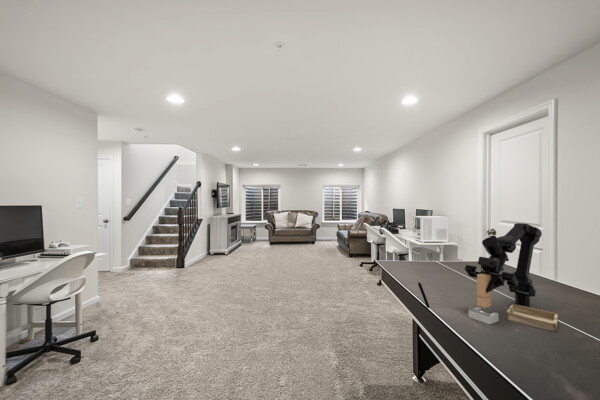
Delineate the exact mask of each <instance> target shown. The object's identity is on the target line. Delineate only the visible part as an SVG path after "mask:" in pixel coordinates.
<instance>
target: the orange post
mask: <svg viewBox="0 0 600 400" xmlns="http://www.w3.org/2000/svg"><path fill="white" fill-rule="evenodd" d="M490 281H491V275H488V274H484V273H482V274H477V278H476V295H477V296H476V297H477V298H476V299H477V300H476V302H477V303H476V305H477V306H476V307H480V308H483V309H486V308H489V307H492V291H490V292H488V293H486V289H487V286H488V285H489V283H490Z"/></svg>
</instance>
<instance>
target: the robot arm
mask: <svg viewBox="0 0 600 400" xmlns="http://www.w3.org/2000/svg"><path fill="white" fill-rule="evenodd" d="M541 237H542V230H541V229H540V228H539V227H536V226H533V225H530V224H529V223H524V222H523V223H522V222H520V223H519V222H517V223H514V225H513V227H512V228H511V229H510V230H509V231H508V232H507V233H506V234H505V235H501V236H498V237H497V236H496V235H490V236H489V237H486V238H484V239H482V241H481V243H482V246H483V248H484V249H485V251H486V252H487V254H488V255H490V256H489V257H486V256H478V261H477V265H480V268H481V269H480V268H478V267H477V265H472V264H471V265H470V264H466V265H465V267H464V272H466V274H467V275H468V276H469V277H470V278H474V279H475V278H476V279H477V274H482V273H484V274H488V275H491V281H490V283H489V285H488V286H487V289H486V293H488V292H490V291H491V292H492V291H493V290H495V289H496V288H500V287H504V286H505V282H506V284H507V286H508V288H509V289H508V290H509V292H510V293H514V303H513V304H515V305H520V306H525V307H529V308H533V305H532V304H531V298H532V297H536V295H537V290H536V289H535V286H534V285H533V280H532V278H531V276H530V270H531V263H532V257H533V253H534V248H535V245H537V244H538V243H539V242H540V239H541ZM518 241H520V247H519V253H518V258H517V259H518V260H517V265H516V269H515V270H516V271H514V272H513V273H512V272H507V271H504V270H505V269H504V266H505V263H506V262H509V256H508V254H507V253H509V254H510V253H511V254H512V253H514V251H515V250H516V249H517V245H516V243H517V242H518Z"/></svg>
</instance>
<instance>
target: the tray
mask: <svg viewBox="0 0 600 400" xmlns="http://www.w3.org/2000/svg"><path fill="white" fill-rule="evenodd" d="M505 320H506V321H509V322H514V323H518V324H521V325H525V326H529V327H533V328H537V329H542V330H546V331H549V332H553V333H557V330H558V329H557V328H558V323H559V313H556V312H552V311H547V310H542V309H538V308H533V307H532V308H529V307H525V306H520V305H515V304H514V303H511V304H510V306H509V308H508V309H507V311H506V312H505Z"/></svg>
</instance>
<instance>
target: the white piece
mask: <svg viewBox="0 0 600 400" xmlns="http://www.w3.org/2000/svg"><path fill="white" fill-rule="evenodd" d="M482 308H483V307H480V306H476V307H468V318H471V319H473V320H476V321H479V322H482V323H484V324H487V325H491V324H494V323H498V322H499V321H500V319H499V313H498V312H492V313H491V312H490V313H488V312H486V311H482Z"/></svg>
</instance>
